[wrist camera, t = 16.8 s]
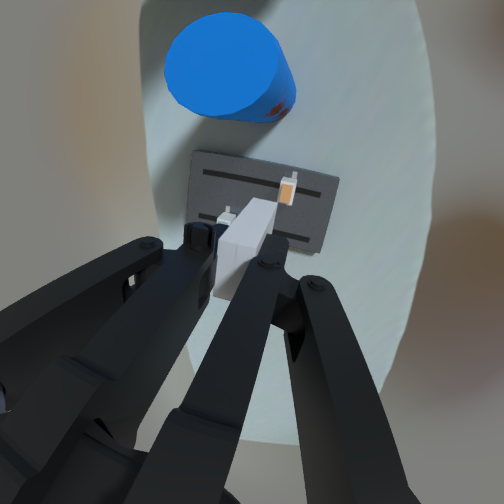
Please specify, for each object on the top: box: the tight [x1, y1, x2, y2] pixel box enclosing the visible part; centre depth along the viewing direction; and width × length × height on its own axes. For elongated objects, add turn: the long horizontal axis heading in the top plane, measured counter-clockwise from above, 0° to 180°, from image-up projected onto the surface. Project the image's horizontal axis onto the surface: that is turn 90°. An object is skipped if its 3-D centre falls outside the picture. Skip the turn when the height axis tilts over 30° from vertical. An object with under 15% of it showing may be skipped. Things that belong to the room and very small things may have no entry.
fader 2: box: [277, 177, 297, 205], centre depth 43 cm, size 4×2×4 cm, turn 171°
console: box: [186, 150, 340, 253], centre depth 49 cm, size 15×26×2 cm, turn 81°
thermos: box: [164, 12, 296, 123], centre depth 30 cm, size 11×11×25 cm
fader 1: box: [217, 212, 236, 226], centre depth 48 cm, size 4×2×4 cm, turn 171°
